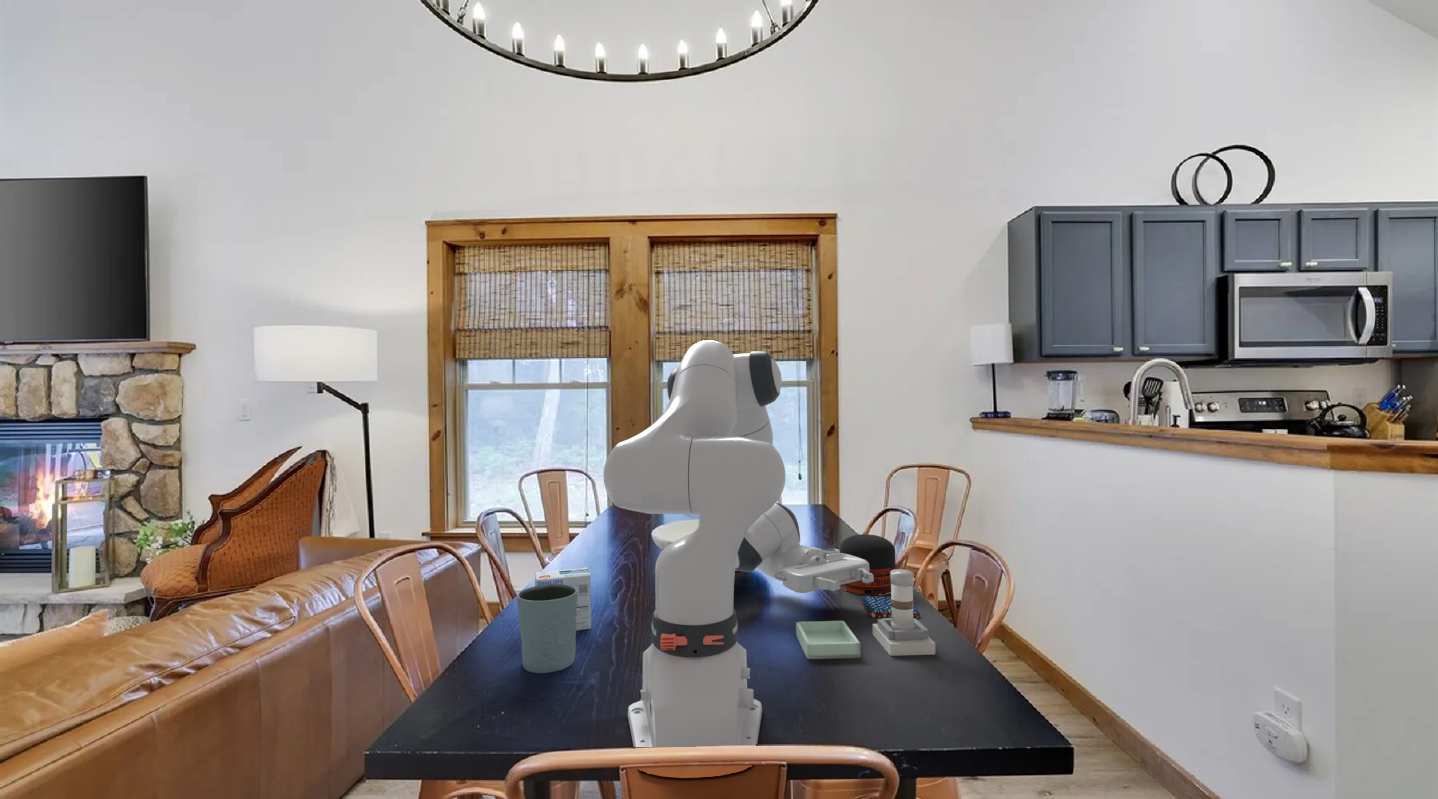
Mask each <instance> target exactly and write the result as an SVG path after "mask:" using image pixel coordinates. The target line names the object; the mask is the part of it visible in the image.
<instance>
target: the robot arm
mask: <svg viewBox="0 0 1438 799" xmlns="http://www.w3.org/2000/svg"><path fill="white" fill-rule="evenodd" d="M782 381H783V380H782V373H781V370H780V367H779V365H778V363H777V361H776V360H775V358H774V356H773V355H771V354H770V353H769V352H768V351H761V350H759V351H757V350H754V351H753V350H752V351H750V353H737V354H734V353H733V352H732V350H731V349H730V348H729V347H728V346H726V344H724V343H722V342H720V341H716V340H712V339H710V340H709V339H706V340H700V341H698V342H696V343H695V344H692V345H691V346H690V347H689V348H688V349H687V351H686V352H685V354H684V355H683V357H682V359H681V361H680V364H679V366H677V367H676V368H674V369H673V370H672V371H671V373H670V374H669V376H668V378H667V383H666V384H667V385H666V386H667V387H666V389H667V397H668V400H669V401H668V404H667V405H666V409H665V410H664V412H663V413H662V414H661V415H660V417H659V418H658V419H657V420H656V421H655V422H654V423H652V424H651V425H650V426H648V427H647V428H646V429H645V430H643V431H642V432H640V433H638V434H636V435H634V436H632V437H630V438H628V439H625V440H623V441H620V442H618V443H617V444H616V445H615V446H614V447H613V448H612V450H611V451H610V453H609V454H608V456H607V458H606V460H605V464H604V467H603V483H604V488H605V490H606V493H607V495H608V497H609V499H610V500H611V502H612V503H613V505H615V506H616V507H617V508H620V509H624V510H629V511H632V512H638V513H644V514H647V515H648V514H649V515H657V514H658V515H661V514H662V515H693V516H697V517H698V527H697V528H696V530H694V531H693V532H691V533H689V534H688V535H685V536H683V537H681V538H679V539H677V540H675V541H674V542H671V543H670V544H668V545H667V546H666V547H664V549H663V550H662V551H661V552H660V553H659V554H658V557H657V559H656V562H655V569H654V570H655V610H654V611H653V612H652V621H651V633H652V634H651V636H652V638H651V641H652V643H651V644H650V646H649V647H647V649H645V650H644V651H643V652H642V689H639V690H640V691H638V695H639V696H638V698H639V699H640V700H639V701H638V700H637V701H636V702H633V703H632V704H630V705H628V708H627V709H628V710H627V718H628V724H629V729H630V734H631V740H632V745H633V748H634V747H692V746H693V747H696V746H719V745H756V744H757V745H758V740H759V733H760V727H761V720H762V714H763V708H762V707H763V706H762V703H761V702H760V701H759V699H758V700H757V699H756V698H754V696H755V694H754V689H753V688H748V679H751V668H750V667H748V664H747V663H748V662H747V660H748V659H747V649H746V648H744V647H743V646H742V645H741V644H740V643H739V642H738V628H739V626H738V625H739V624H738V623H739V622H738V619H737V611H736V609H734V593H735V592H734V590H735V588H734V587H735V586H734V585H735V574H736V572H735V571H739V572H744V573H745V572H746V573H751V572H754V571H755V570H756V569H758V571H760V572H761V573H763V574H765V575H766V576H769V577H771V578H773V579H775V580H778V581H781V582H782V585H783V586H784V587H785V588H787V589H789V590H790V591H793V592H795V593H799V594H806V593H811V592H814V591H815V592H816V591H819V590H823V591H825V590H827V591H831V592H837V591H840V590H841V585H842V584H846V583H851V582H855V581H860V580H862V582H864V583H872V582H873V581H874V578H873V574H872V573H869V563H868V562H867V561H866V560H864V559H861V558H858V557H855V556H852V555H849V554H844V553H840V549H837V548H818V547H813V546H806V545H802V544H801V533H800V527H799V522H798V519H797V517H796V515H795V514H794V512H793V511H792V510H791V509H789V507H786V506H785V505H784V504H781V503H778V501H779V500H780V498H781V496H782V495H783V491H784V488H785V486H786V468H785V463H784V461H783V459H782V456H781V454H780V453H779V451H778V450H777V449H776V448H775V446H774V445H773V443H774V442H773V440H774V439H773V438H774V437H773V435H774V434H773V429H772V424H771V421H770V417H769V413H768V409H767V407H766V406H767V405H770V404H772V403H774V402H776V400H777V399H778V398H779V396H780V395H781V388H782Z"/></svg>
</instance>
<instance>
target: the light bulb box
mask: <svg viewBox="0 0 1438 799" xmlns="http://www.w3.org/2000/svg"><path fill="white" fill-rule="evenodd" d="M548 584H567V585H571V586H574V587H576V588H577V589H578V598H577V609H576V612H577V616H576V631H583V630H591V629H592V608H591V605H592V604H591V602H592V600H591V598H592V597H591V590H592V589H591V573H590V571H589V570H588V567H577V568H570V569H569V568H567V569H559V570H558V569H557V570H547V571H535V573H534V587H535V586H540V585H548Z"/></svg>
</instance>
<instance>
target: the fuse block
mask: <svg viewBox="0 0 1438 799" xmlns="http://www.w3.org/2000/svg"><path fill="white" fill-rule="evenodd" d="M891 620H892V617H883V618H879V619H878V618H877V623H872V635H873V637H874V638H875V639H876V640H877V642H878V643H879V644H880V646H881V647H882V648H883V650H885V652H887V654H888V655H889V656H892V657H893V656H923V655H924V656H926V655H927V656H928V655H932V656H933V655H936V642H935V641H934V640H933V639H931V637H930V635H929V632H930V631H929V629H928V628H927V627H926V626H924V625H923V624H922V623H921V622H920V621H919V620H918V618H917V617H915V618H914V617H913V622H914V630H893V629H892V628H891Z"/></svg>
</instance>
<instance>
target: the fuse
mask: <svg viewBox="0 0 1438 799" xmlns="http://www.w3.org/2000/svg"><path fill="white" fill-rule="evenodd" d="M890 577H891V594H890V595H891V596H890V597H891V614H892V615H891V616H892V617H891V618H892V620H891V628H892V629H893V630H914V622H913V618H914V617H913V606H914V572H913V571H911V570H908V569H901V568H899V569H898V568H895V570H891V571H890Z"/></svg>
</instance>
